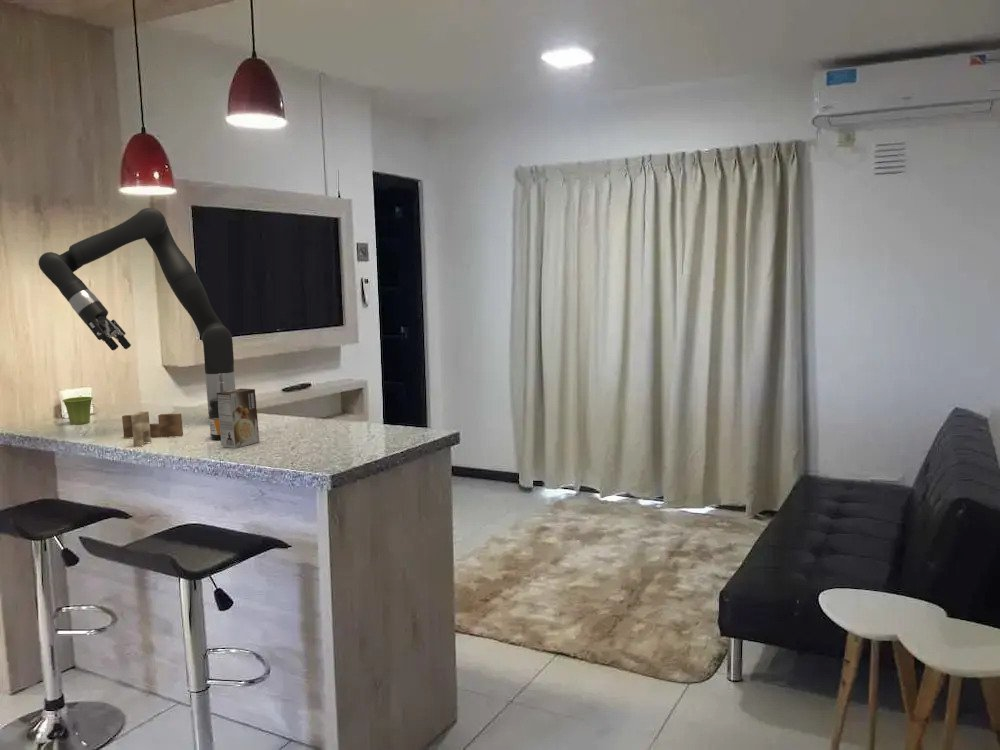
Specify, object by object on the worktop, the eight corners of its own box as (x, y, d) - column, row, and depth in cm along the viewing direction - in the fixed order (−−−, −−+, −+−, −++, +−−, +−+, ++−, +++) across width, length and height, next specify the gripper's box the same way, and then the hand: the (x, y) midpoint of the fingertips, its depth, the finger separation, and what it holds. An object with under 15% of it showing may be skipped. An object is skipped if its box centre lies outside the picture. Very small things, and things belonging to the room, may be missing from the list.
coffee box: (245, 440, 245) (241, 387, 243) (260, 442, 242) (256, 388, 240) (220, 446, 237) (216, 392, 235) (235, 448, 234) (230, 393, 232)
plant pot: (100, 421, 288) (98, 397, 287) (74, 426, 280) (72, 401, 279) (85, 419, 293) (83, 396, 292) (59, 424, 285) (56, 400, 284)
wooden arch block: (134, 446, 242) (131, 415, 240) (143, 442, 248) (140, 411, 246) (142, 446, 242) (139, 415, 240) (151, 442, 248) (148, 411, 246)
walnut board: (124, 438, 256) (121, 416, 255) (127, 436, 258) (125, 415, 257) (180, 436, 255) (178, 414, 254) (183, 435, 257) (181, 413, 256)
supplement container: (205, 441, 246) (202, 402, 244) (216, 434, 256) (213, 396, 255) (240, 440, 246) (237, 400, 245) (250, 433, 257) (247, 395, 255)
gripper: (86, 299, 247) (120, 341, 248) (108, 300, 261) (141, 339, 262) (67, 315, 247) (102, 357, 248) (90, 314, 261) (123, 354, 262)
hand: (122, 348), depth 255 cm, fingers open, 8 cm apart
